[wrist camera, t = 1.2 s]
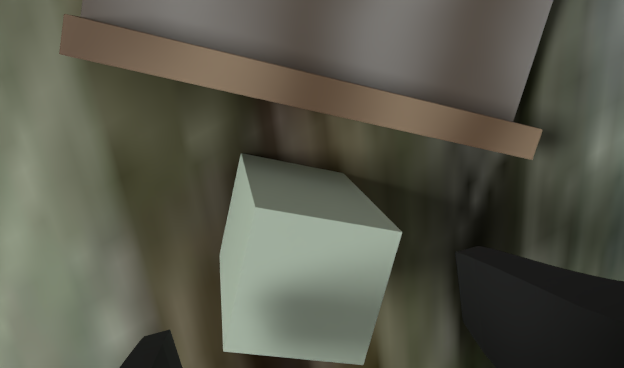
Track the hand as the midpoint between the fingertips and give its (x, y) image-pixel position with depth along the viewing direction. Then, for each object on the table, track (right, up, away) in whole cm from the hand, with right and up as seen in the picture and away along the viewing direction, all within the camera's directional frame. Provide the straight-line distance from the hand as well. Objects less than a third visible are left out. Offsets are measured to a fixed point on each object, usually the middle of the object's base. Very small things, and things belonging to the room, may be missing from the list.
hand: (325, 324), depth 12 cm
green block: (-2, +2, +9) cm, 10 cm away
